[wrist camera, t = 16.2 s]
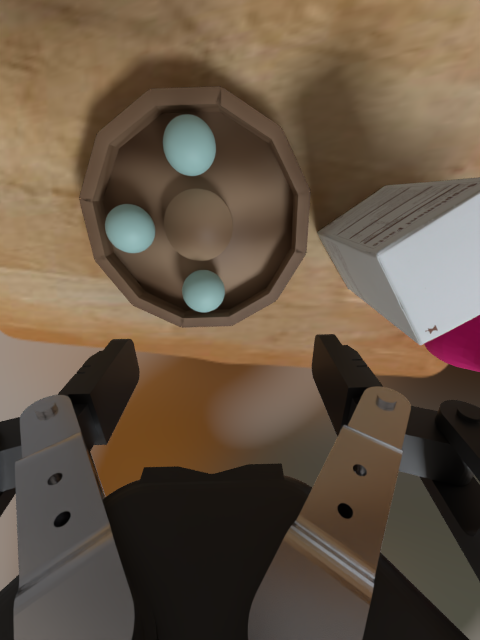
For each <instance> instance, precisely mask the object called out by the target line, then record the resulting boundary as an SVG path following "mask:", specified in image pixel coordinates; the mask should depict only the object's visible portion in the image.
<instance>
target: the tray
mask: <svg viewBox="0 0 480 640" xmlns="http://www.w3.org/2000/svg"><path fill="white" fill-rule="evenodd" d="M184 114H190V115H194V116H197V117H199V118H200V119H202V120H203V121H204V122H205V123H206V124H207V125H208V126H209V128H210V129H211V131H212V133H213V135H214V138H215V143H216V153H215V158H214V161H213V163H212V165H211V166H210V168H209V169H208V170H207V171H205V172H204V173H202V174H200V175H197V176H187V175H184V174H181V173H179V172H178V171H176V170H175V169H174V168H173V167H172V166H171V165H170V163H169V162H168V160H167V158H166V156H165V153H164V149H163V136H164V132H165V129H166V127H167V125H168V124H169V123H170V121H171V120H172V119H174V118H175V117H177V116H179V115H184ZM280 128H281V127H280V126H279V125H277V124H276V123H275V122H273V121H272V120H270V119H269V118H267V117H266V116H264V115H263V114H261V113H260V112H258V111H257V110H255V109H254V108H252V107H251V106H249V105H248V104H247V103H245V102H244V101H242V100H241V99H239V98H238V97H236V96H235V95H233V94H232V93H230V92H229V91H227V90H226V89H224V88H223V87H221V86H216V87H183V88H151V90H150V89H149V90H148V91H146V92H145V93H144V94H143V95H142V96H140V97H139V98H138V99H137V100H136V101H135V102H133V103H132V104H131V105H130V106H129V107H127V108H126V109H125V110H124V111H123V112H121V113H120V114H119V115H118V116H117V117H115V118H114V119H113V120H112V121H111V122H109V123H108V124H107V125H106V126H105V127H104V128H102V129H101V130H100V131H99V132H98V134H97V135H96V138H95V142H94V146H93V149H92V153H91V157H90V160H89V164H88V168H87V171H86V175H85V179H84V182H83V186H82V190H81V193H80V197H79V198H81V199H79V200H80V204H81V208H82V212H83V216H84V220H85V224H86V228H87V232H88V236H89V240H90V244H91V248H92V252H93V256H94V260H95V261H96V263H97V264H98V265H99V266H100V267H101V268H102V270H103V271H104V272H105V273H106V274H107V276H108V277H109V278H110V279H111V280H112V282H113V283H114V284H115V285H116V286H117V287H118V289H119V290H120V291H121V292H122V293H123V295H124V296H125V297H126V298H127V299H128V301H129V302H130V303H131V304H132V305H133V306H135V307H137V308H140V309H142V310H144V311H146V312H148V313H151V314H153V315H155V316H157V317H159V318H162V319H164V320H166V321H168V322H170V323H173V324H175V325H177V326H179V327H181V326H182V327H213V326H233V325H234V324H236V323H238V322H240V321H242V320H243V319H245V318H247V317H249V316H250V315H252V314H254V313H256V312H257V311H259V310H261V309H263V308H264V307H266V306H268V305H270V304H272V303H273V302H275V301H276V300H277V299H278V298H279V296H280V294H281V293H282V291H283V290H284V288H285V287H286V285H287V283H288V282H289V280H290V279H291V277H292V275H293V274H294V272H295V271H296V269H297V267H298V266H299V264H300V263H301V261H302V260H303V258H304V256H305V255H306V254H305V253H306V250H307V236H308V222H309V208H310V194H311V192H309V191H310V188H309V186H308V184H307V182H306V180H305V177H304V175H303V173H302V171H301V169H300V166H299V164H298V162H297V160H296V158H295V155H294V153H293V151H292V149H291V147H290V145H289V142H288V140H287V138H286V136H285V134H284V131H283V129H282V128H281V129H280ZM122 204H132V205H136V206H138V207H140V208H142V209H144V210H145V211H146V212H147V213H148V214H149V215H150V217H151V218H152V220H153V222H154V225H155V237H154V240H153V242H152V244H151V245H150V246H149V247H148V248H147V249H146V250H144V251H142V252H139V253H127V252H124V251H121V250H119V249H118V248H116V247H115V246H114V245H113V244H112V243H111V242H110V240H109V239H108V237H107V234H106V231H105V221H106V218H107V215H108V214H109V212H110V211H111V210H112V209H113V208H115V207H116V206H119V205H122ZM198 270H209V271H211V272H214V273H215V274H217V275H218V276H219V277H220V279H221V280H222V282H223V284H224V287H225V295H224V299H223V301H222V303H221V304H220V305H219V306H218V307H217V308H216V309H215V310H213V311H210V312H198V311H195V310H193V309H191V308H190V307H189V306H188V305H187V304H186V302H185V300H184V298H183V294H182V287H183V284H184V281H185V279H186V278H187V277H188V276H189V275H190V274H191V273H193V272H195V271H198Z"/></svg>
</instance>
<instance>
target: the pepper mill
mask: <svg viewBox="0 0 480 640" xmlns="http://www.w3.org/2000/svg"><path fill="white" fill-rule="evenodd" d="M424 344H425V346H426V348H427V349H428V351H429V352H430V353H432V354H433V355H434V356H436V357H437V358H439V359H440V360H442V361H444V362H446V363H448V364H451V365H453V366H456V367H460V368H465V369H469V370H474V371H478V372H480V315H478V316H476V317H475V318H473V319H471V320H469V321H467V322H465V323H463V324H461V325H459V326H458V327H456V328H454V329H452V330H450V331H448V332H446V333H444V334H442V335H440V336H438V337H436V338H434V339H432V340H430V341H428V342H426V343H424Z"/></svg>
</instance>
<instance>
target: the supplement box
mask: <svg viewBox="0 0 480 640" xmlns="http://www.w3.org/2000/svg"><path fill="white" fill-rule="evenodd" d="M318 235H319V237H320V239H321V241H322V243H323V245H324V247H325V248H326V250H327V252H328V254H329V256H330V257H331V259H332V261H333V263H334V265H335V266H336V268H337V270H338V272H339V273H340V275H341V277H342V279H343V280H344V282H345V284H346V286H347V287H348V289H350V290H351V291H352V292H354V293H355V294H356V295H357V296H358V297H360V298H361V299H362V300H364V301H365V302H366V303H367V304H369V305H370V306H371V307H372V308H374V309H375V310H376V311H377V312H379V313H380V314H381V315H382V316H384V317H385V318H386V319H387V320H389V321H390V322H391V323H393V324H394V325H395V326H396V327H398V328H399V329H400V330H401V331H403V332H404V333H405V334H406V335H408V336H409V337H410V338H411V339H413V340H414V341H415V342H416V343H418V344H419V345H422V344H424V343H426V342H428V341H430V340H432V339H434V338H436V337H438V336H440V335H442V334H444V333H446V332H448V331H450V330H452V329H454V328H456V327H458V326H459V325H461V324H463V323H465V322H467V321H469V320H471V319H473V318H475V317H476V316H478V315H480V178H469V179H457V180H446V181H435V182H422V183H410V184H397V185H386V186H384V187H382V188H381V189H380V190H378V191H377V192H375V193H374V194H372V195H371V196H370V197H368V198H367V199H365V200H364V201H362V202H361V203H359V204H358V205H356V206H355V207H353V208H352V209H350V210H349V211H347V212H346V213H345V214H343V215H342V216H340V217H339V218H337V219H336V220H334V221H333V222H331V223H330V224H328V225H327V226H325V227H324V228H322V229H321V230H320V231H318Z"/></svg>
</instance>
